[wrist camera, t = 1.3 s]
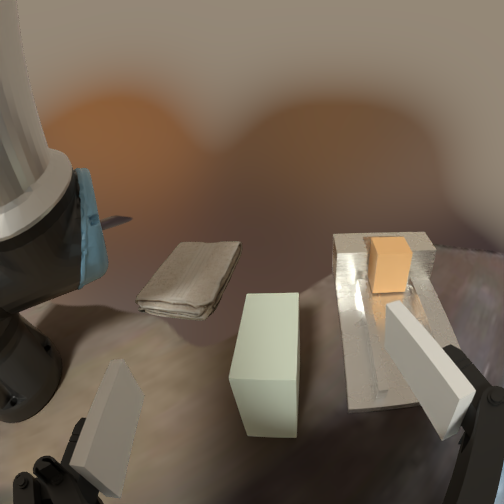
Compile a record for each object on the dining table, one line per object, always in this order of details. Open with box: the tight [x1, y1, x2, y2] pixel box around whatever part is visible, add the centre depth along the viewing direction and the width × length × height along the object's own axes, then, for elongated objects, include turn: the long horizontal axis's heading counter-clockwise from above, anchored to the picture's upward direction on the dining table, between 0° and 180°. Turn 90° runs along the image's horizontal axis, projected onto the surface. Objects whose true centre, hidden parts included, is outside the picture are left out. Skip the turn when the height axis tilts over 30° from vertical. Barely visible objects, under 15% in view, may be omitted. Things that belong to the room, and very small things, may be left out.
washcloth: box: [135, 241, 242, 320], centre depth 47 cm, size 12×18×3 cm, turn 168°
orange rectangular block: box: [368, 237, 413, 293], centre depth 37 cm, size 5×4×6 cm
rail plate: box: [332, 232, 461, 413], centre depth 33 cm, size 14×24×6 cm, turn 173°
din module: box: [229, 293, 300, 438], centre depth 25 cm, size 4×9×10 cm, turn 173°
